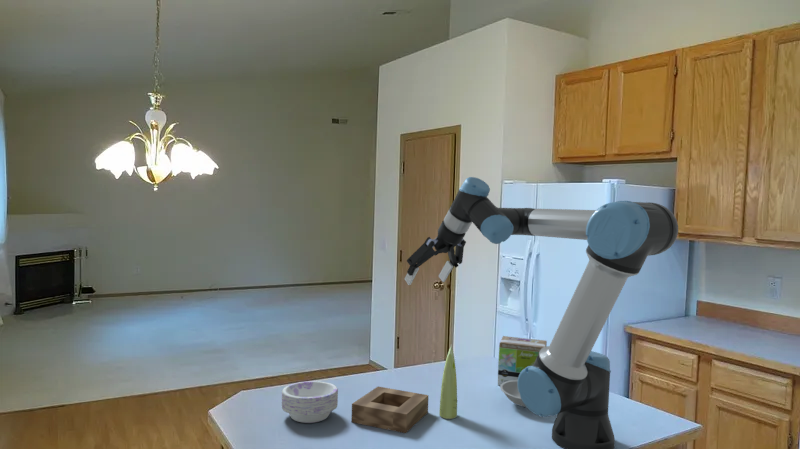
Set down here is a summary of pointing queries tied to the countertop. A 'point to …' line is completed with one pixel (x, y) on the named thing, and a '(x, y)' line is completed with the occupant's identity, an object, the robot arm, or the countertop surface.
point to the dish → (512, 392)
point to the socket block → (390, 409)
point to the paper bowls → (309, 400)
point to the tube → (449, 388)
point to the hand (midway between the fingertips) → (424, 280)
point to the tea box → (516, 356)
